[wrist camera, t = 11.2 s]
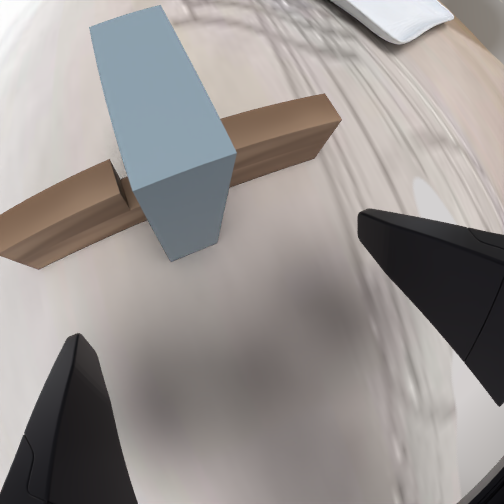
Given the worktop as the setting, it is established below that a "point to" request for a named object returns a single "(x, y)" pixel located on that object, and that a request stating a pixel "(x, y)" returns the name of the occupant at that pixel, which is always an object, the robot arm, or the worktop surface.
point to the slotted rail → (124, 201)
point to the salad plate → (397, 17)
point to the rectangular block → (165, 129)
